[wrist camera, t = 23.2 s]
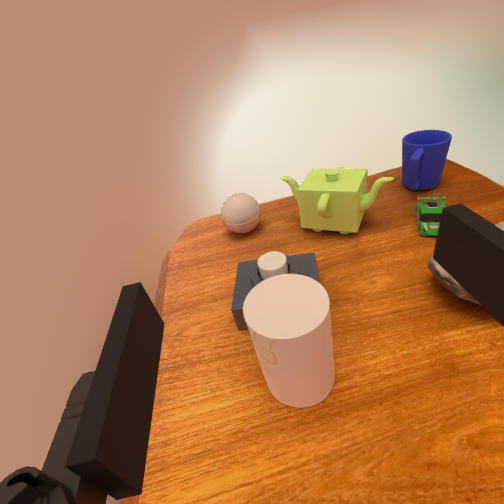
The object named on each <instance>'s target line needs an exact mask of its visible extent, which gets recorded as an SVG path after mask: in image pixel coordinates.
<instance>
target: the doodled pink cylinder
mask: <svg viewBox="0 0 504 504" xmlns="http://www.w3.org/2000/svg"><path fill="white" fill-rule="evenodd" d="M243 315H244V318H245V321H246V324H247V327H248V330H249V333H250V336H251V339H252V342H253V345H254V348H255V351H256V354H257V357H258V360H259V363H260V366H261V369H262V372H263V375H264V378H265V381H266V384H267V387H268V389H269V391H270V392H271V394H272V395H273V396H274V397H275V398H276V399H277V400H278V401H280V402H281V403H283V404H285V405H288V406H291V407H296V408H305V407H310V406H313V405H316V404H318V403H319V402H321V401H322V400H324V399H325V398H326V397H327V396H328V394H329V393H330V391H331V390H332V388H333V385H334V381H335V368H334V355H333V342H332V329H331V316H330V303H329V297H328V294H327V292H326V290H325V289H324V287H323V286H322V285H321V284H320V283H319V282H317V281H316V280H314V279H312V278H310V277H307V276H304V275H299V274H282V275H277V276H273V277H270V278H268V279H266V280H264V281H262V282H260V283H259V284H257V285H256V286H255V287H254V288H253V289H252V290H251V291H250V292H249V293H248V295H247V297H246V299H245V301H244V305H243Z"/></svg>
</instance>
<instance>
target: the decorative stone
mask: <svg viewBox="0 0 504 504" xmlns="http://www.w3.org/2000/svg"><path fill="white" fill-rule="evenodd" d="M495 226H497V227H498V228H500V229H502V230H503V231H504V222H500V223H498V224H496V225H495ZM428 267H429V269H430V270H431V272H432V273H433V274H434V276H435V278H436V279H437V280H438V281H439V282H440V283H441V284H442V285H443V286H444V287H446V288H447V289H448V290H450V291H451V292H452V293H453V294H454V295H456V296H457V297H459V298H462V299H465V300H468V301H471V302H474V303H476V304H479V305H481V304H480V303H479V302H478V301H477V300H476V299H474V298H473V297H472V296H471V295H470V294H469V293H468V292H467V291H466V290H465V289H464V288H463V287H462V286H461V285H460V284H459V283H458V282H457V281H456V280H455V279H454V278H452V277H451V276H450V275H449V274H448V273H447V272H446V271H445V270H444V269H443V268H442V267H441V266H440V265H439V264H438V263H437V262H436V261H435V260H434V259H433V255H432V256H431V257H430V258H429V261H428ZM481 306H482V305H481Z"/></svg>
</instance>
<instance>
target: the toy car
mask: <svg viewBox="0 0 504 504" xmlns="http://www.w3.org/2000/svg"><path fill="white" fill-rule="evenodd" d="M419 199H428V201H418V202H417V210H416V216H417V218H418V222H417V226H418V230H419V233H420V235H422V236H428V235H429V236H435V237H437V234H438V229H439V225H440V220H441V215H442V210H443V208H444V207H447V204H446V202H445V201H435V199H444V200H445V196H444V197H419V196H418V200H419ZM429 199H434V201H429Z"/></svg>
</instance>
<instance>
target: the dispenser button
mask: <svg viewBox="0 0 504 504" xmlns="http://www.w3.org/2000/svg"><path fill="white" fill-rule="evenodd" d="M257 264H258V268H259V272H260V276H261V278H262V279H263V280H266V279H268V278H270V277H273V276H277V275H282V274H288V265H287V259H286V256H285V255H284V254H283V253H281V252H276V251H273V252H268V253H265V254H263V255H262V256H261V257H260V258H259V259H258V262H257Z"/></svg>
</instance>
